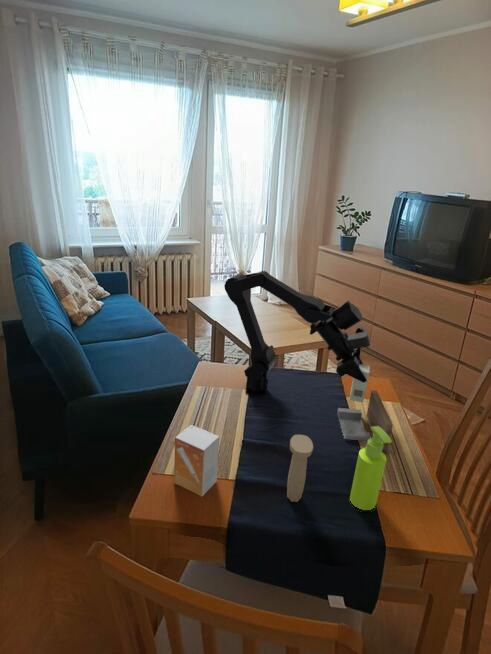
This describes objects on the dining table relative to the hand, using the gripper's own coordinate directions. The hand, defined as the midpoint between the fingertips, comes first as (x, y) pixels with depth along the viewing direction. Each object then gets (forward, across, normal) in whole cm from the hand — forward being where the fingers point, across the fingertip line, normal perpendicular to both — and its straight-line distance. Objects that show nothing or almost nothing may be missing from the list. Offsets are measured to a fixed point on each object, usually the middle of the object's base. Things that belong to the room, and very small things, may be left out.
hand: (365, 377), depth 131 cm
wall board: (+13, -8, +6) cm, 16 cm away
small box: (-16, -45, +35) cm, 59 cm away
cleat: (+8, -8, +10) cm, 15 cm away
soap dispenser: (+11, -38, +8) cm, 41 cm away
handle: (0, -42, +19) cm, 46 cm away
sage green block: (+4, 0, +6) cm, 7 cm away
